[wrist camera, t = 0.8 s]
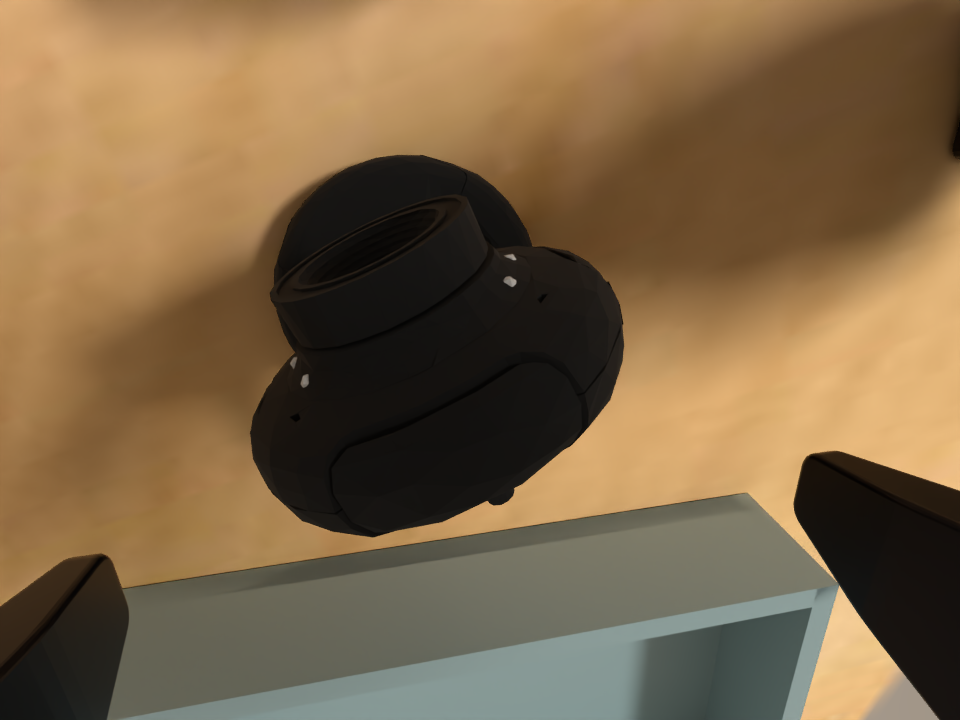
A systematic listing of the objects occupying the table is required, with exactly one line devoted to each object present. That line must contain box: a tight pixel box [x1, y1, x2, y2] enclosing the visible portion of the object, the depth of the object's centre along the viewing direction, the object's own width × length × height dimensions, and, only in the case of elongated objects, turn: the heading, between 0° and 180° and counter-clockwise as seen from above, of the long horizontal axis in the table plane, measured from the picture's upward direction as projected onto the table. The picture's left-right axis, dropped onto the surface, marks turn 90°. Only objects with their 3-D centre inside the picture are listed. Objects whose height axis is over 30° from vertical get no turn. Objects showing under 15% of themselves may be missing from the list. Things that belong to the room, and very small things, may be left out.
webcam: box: [250, 155, 624, 537], centre depth 13 cm, size 8×8×10 cm
